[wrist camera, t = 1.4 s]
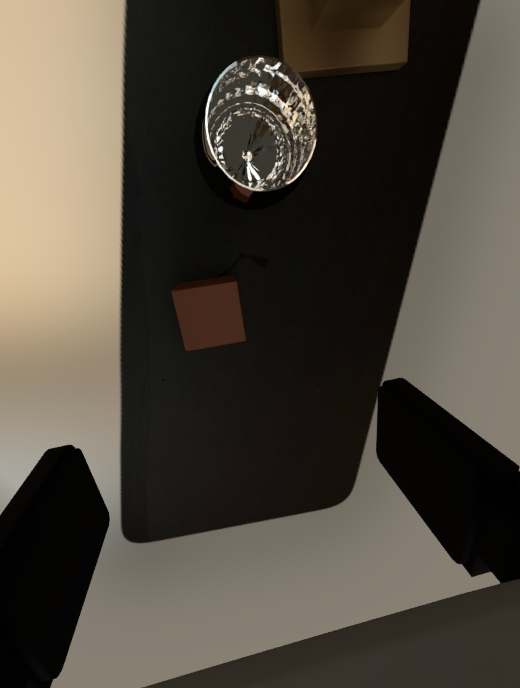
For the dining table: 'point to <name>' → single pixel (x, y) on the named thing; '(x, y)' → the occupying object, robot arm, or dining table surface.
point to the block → (209, 312)
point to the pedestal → (342, 35)
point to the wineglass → (255, 132)
